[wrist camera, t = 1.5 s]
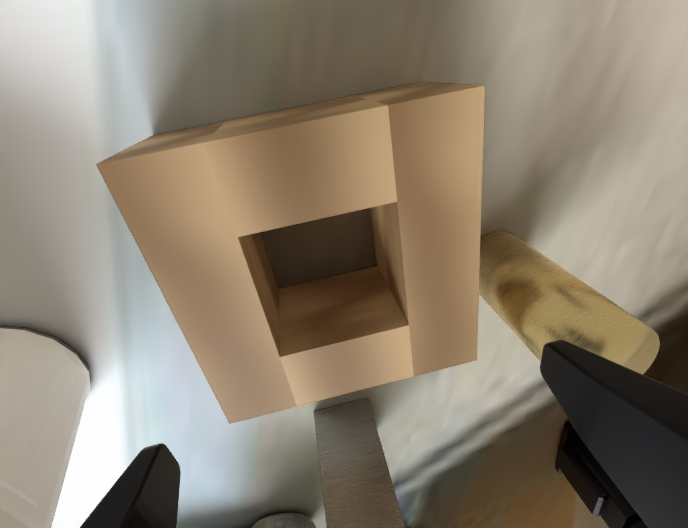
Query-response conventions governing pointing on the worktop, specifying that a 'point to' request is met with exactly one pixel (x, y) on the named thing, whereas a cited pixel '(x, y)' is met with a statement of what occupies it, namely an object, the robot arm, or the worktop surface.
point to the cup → (36, 423)
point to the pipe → (285, 521)
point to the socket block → (307, 205)
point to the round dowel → (558, 305)
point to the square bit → (354, 469)
